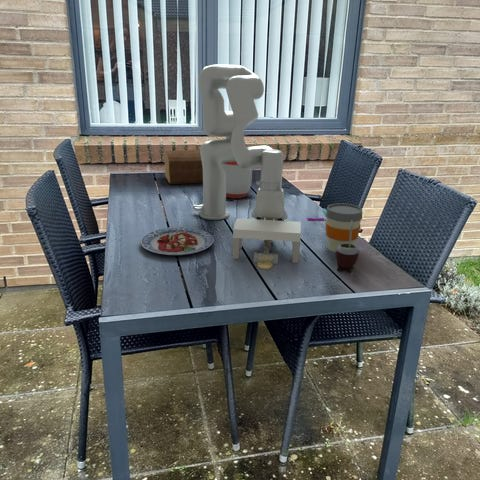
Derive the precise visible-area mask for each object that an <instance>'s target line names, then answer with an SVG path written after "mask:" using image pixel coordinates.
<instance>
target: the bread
mask: <svg viewBox="0 0 480 480" xmlns="http://www.w3.org/2000/svg"><path fill="white" fill-rule="evenodd" d="M200 149H201V148H199V149H181V150H179V149H178V150H176V149H175V150H174V149H173V150H167V151H164V153H163V154H164V155H163V156H164V176H165V179H166V180H167V182H168V183H169V184H170V185H177V184H197V183H199V184H200V183H202V184H203V166H202V160H201V154H200Z"/></svg>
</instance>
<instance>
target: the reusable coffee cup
mask: <svg viewBox="0 0 480 480" xmlns="http://www.w3.org/2000/svg"><path fill="white" fill-rule="evenodd" d="M325 217H326V219H327V220H325V234H326V235H325V236H326V237H327V238H326V239H327V249H328V250H329V251H330V250H331V251H330V252H333V253H336V251H337V248H338V247H339V245H341V244H344V243H346V244H349V238H350V229H351V220H353V226H352V229H353V230H352V236H351V244H352V245H354V246H355V243H356V240H357V239H358V237H359V233H360V229H361V221H362V219H363V209H362V207H360V206H358V205H355V204H351V203H344V202H342V203H340V202H339V203H338V202H337V203H332V204H329V205H327V207H326V215H325Z"/></svg>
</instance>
